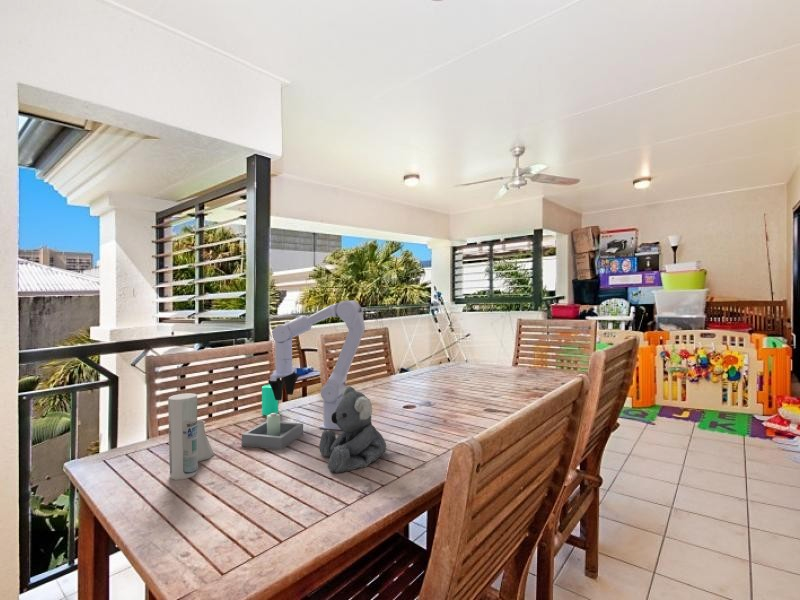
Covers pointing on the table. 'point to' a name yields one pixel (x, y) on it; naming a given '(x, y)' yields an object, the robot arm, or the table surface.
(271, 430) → the cylinder
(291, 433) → the bin
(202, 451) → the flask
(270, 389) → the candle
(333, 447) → the koala plush
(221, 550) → the table surface
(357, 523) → the table surface
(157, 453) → the table surface
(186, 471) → the spray can
